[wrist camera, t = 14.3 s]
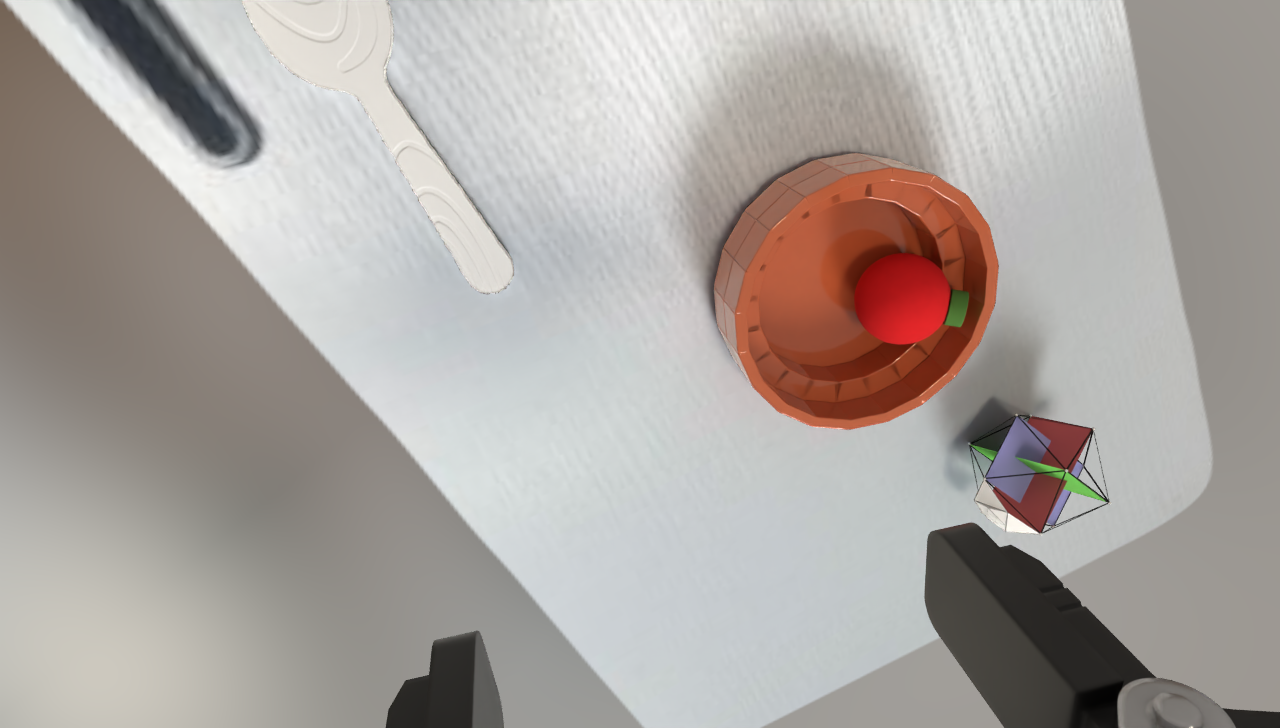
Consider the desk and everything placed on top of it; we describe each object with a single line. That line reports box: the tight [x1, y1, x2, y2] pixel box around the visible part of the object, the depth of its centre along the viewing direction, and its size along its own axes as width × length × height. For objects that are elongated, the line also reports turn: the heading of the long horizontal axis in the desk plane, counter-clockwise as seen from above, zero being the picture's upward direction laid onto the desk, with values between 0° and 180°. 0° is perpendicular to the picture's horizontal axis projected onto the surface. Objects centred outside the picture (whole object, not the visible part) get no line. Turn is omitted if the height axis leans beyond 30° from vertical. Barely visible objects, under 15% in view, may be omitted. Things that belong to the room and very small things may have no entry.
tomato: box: [854, 253, 969, 345], centre depth 38 cm, size 5×5×5 cm
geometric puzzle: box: [968, 414, 1111, 535], centre depth 44 cm, size 7×7×8 cm
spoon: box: [241, 0, 514, 294], centre depth 33 cm, size 5×18×1 cm, turn 27°
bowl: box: [714, 153, 999, 430], centre depth 38 cm, size 13×13×4 cm
